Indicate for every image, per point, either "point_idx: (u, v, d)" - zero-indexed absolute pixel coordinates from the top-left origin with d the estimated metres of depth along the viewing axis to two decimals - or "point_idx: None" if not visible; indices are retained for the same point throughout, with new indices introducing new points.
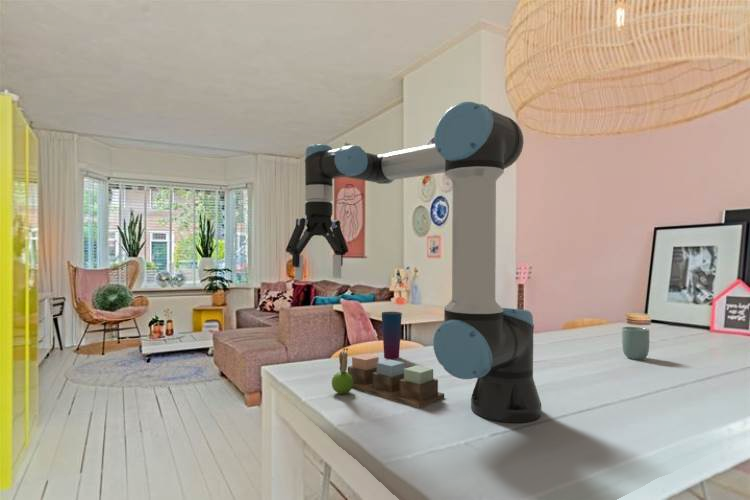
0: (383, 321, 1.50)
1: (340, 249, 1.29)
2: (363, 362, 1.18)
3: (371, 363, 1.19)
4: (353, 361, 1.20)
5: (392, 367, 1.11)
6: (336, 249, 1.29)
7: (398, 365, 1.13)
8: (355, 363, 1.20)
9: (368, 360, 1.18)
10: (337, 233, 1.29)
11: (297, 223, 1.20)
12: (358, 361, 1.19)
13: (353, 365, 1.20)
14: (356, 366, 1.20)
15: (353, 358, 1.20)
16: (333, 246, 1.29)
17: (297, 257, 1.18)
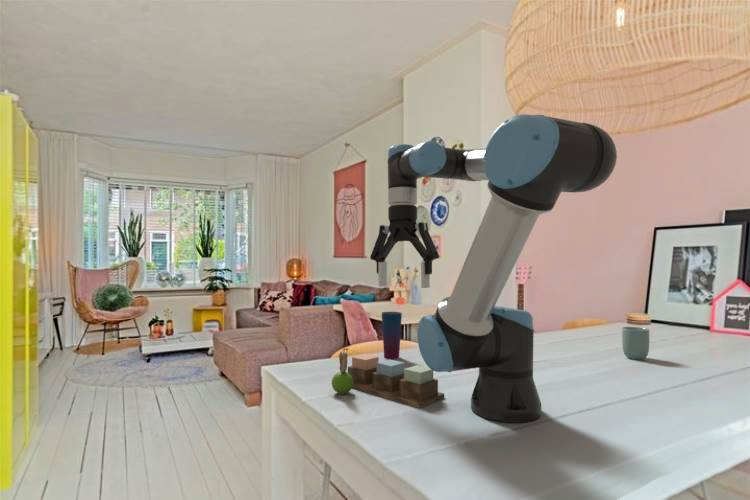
0: (383, 321, 1.50)
1: (423, 255, 1.12)
2: (363, 362, 1.18)
3: (371, 363, 1.19)
4: (353, 361, 1.20)
5: (392, 367, 1.11)
6: None
7: (398, 365, 1.13)
8: (355, 363, 1.20)
9: (368, 360, 1.18)
10: None
11: None
12: (358, 361, 1.19)
13: (353, 365, 1.20)
14: (356, 366, 1.20)
15: (353, 358, 1.20)
16: None
17: (378, 264, 1.22)
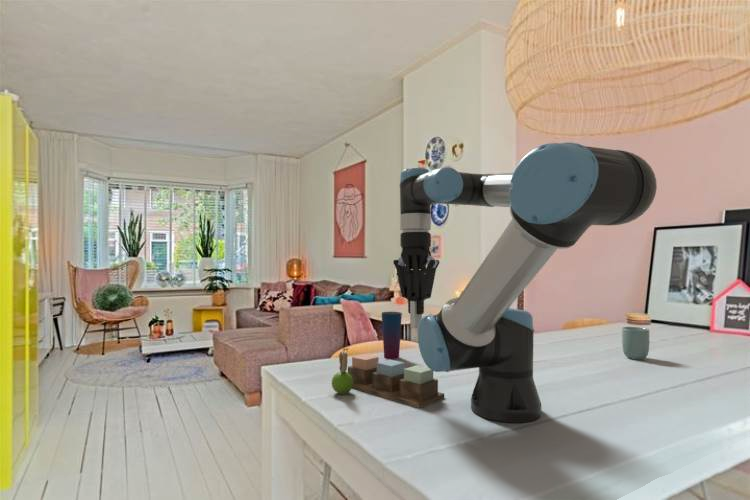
0: (383, 321, 1.50)
1: (417, 294, 1.09)
2: (363, 362, 1.18)
3: (371, 363, 1.19)
4: (353, 361, 1.20)
5: (392, 367, 1.11)
6: None
7: (398, 365, 1.13)
8: (355, 363, 1.20)
9: (368, 360, 1.18)
10: None
11: None
12: (358, 361, 1.19)
13: (353, 365, 1.20)
14: (356, 366, 1.20)
15: (353, 358, 1.20)
16: None
17: (409, 303, 1.12)
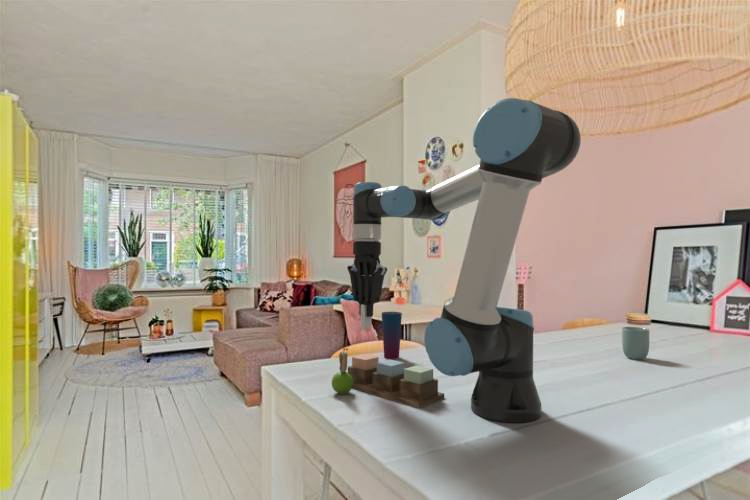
0: (383, 321, 1.50)
1: (366, 299, 1.19)
2: (363, 362, 1.18)
3: (371, 363, 1.19)
4: (353, 361, 1.20)
5: (392, 367, 1.11)
6: None
7: (398, 365, 1.13)
8: (355, 363, 1.20)
9: (368, 360, 1.18)
10: None
11: None
12: (358, 361, 1.19)
13: (353, 365, 1.20)
14: (356, 366, 1.20)
15: (353, 358, 1.20)
16: None
17: (360, 306, 1.21)
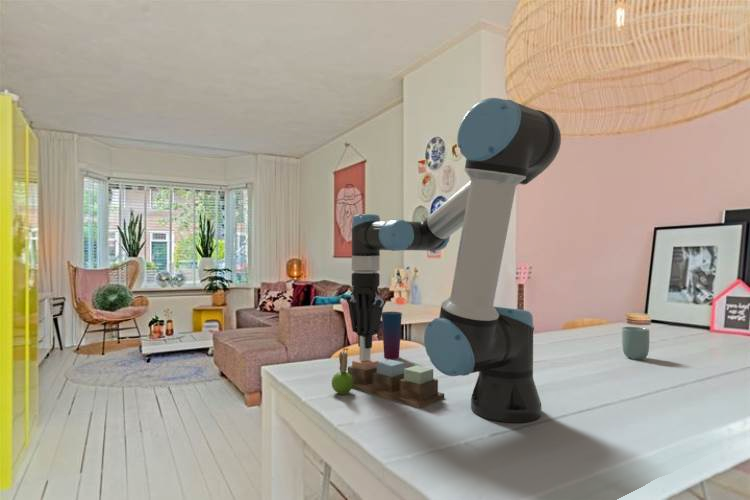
0: (383, 321, 1.50)
1: (365, 330, 1.19)
2: (363, 366, 1.18)
3: (371, 367, 1.19)
4: (353, 365, 1.20)
5: (392, 367, 1.11)
6: None
7: (398, 365, 1.13)
8: (355, 367, 1.20)
9: (368, 364, 1.18)
10: None
11: None
12: (358, 365, 1.19)
13: None
14: None
15: (353, 362, 1.20)
16: None
17: (359, 337, 1.21)
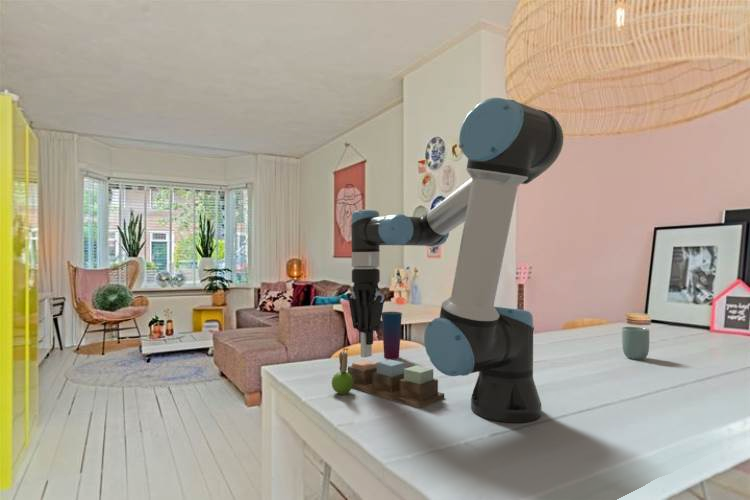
0: (383, 321, 1.50)
1: (366, 326, 1.19)
2: (363, 368, 1.18)
3: None
4: (353, 367, 1.20)
5: (392, 367, 1.11)
6: None
7: (398, 365, 1.13)
8: None
9: (368, 366, 1.18)
10: None
11: None
12: (358, 367, 1.19)
13: None
14: None
15: (353, 364, 1.20)
16: None
17: (360, 334, 1.21)
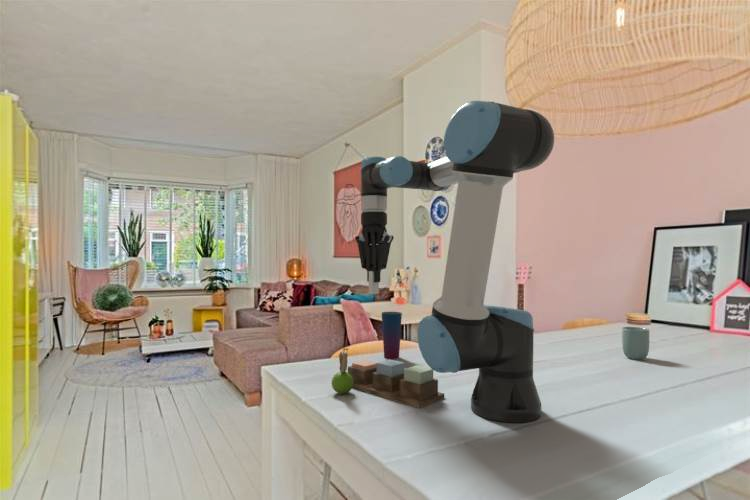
0: (383, 321, 1.50)
1: (374, 265, 1.28)
2: (363, 368, 1.18)
3: None
4: (353, 367, 1.20)
5: (392, 367, 1.11)
6: None
7: (398, 365, 1.13)
8: None
9: (368, 366, 1.18)
10: None
11: None
12: (358, 367, 1.19)
13: None
14: None
15: (353, 364, 1.20)
16: None
17: (368, 273, 1.30)
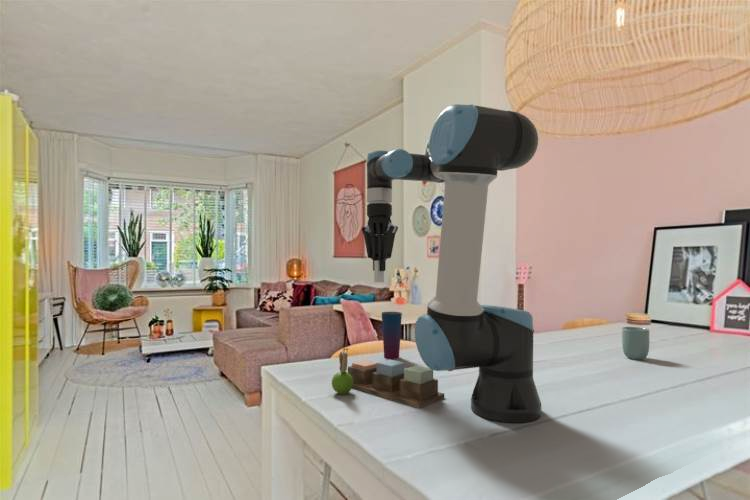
0: (383, 321, 1.50)
1: (379, 255, 1.33)
2: (363, 368, 1.18)
3: None
4: (353, 367, 1.20)
5: (392, 367, 1.11)
6: None
7: (398, 365, 1.13)
8: None
9: (368, 366, 1.18)
10: None
11: None
12: (358, 367, 1.19)
13: None
14: None
15: (353, 364, 1.20)
16: None
17: (374, 262, 1.36)
